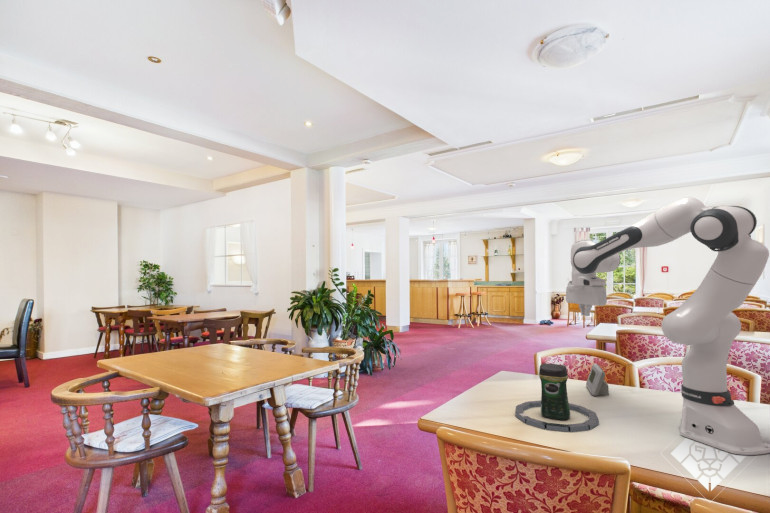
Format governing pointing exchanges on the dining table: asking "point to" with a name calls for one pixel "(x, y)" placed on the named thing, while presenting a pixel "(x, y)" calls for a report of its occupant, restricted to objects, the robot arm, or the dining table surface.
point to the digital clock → (597, 381)
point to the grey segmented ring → (583, 426)
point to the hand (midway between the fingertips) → (585, 315)
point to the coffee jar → (554, 391)
